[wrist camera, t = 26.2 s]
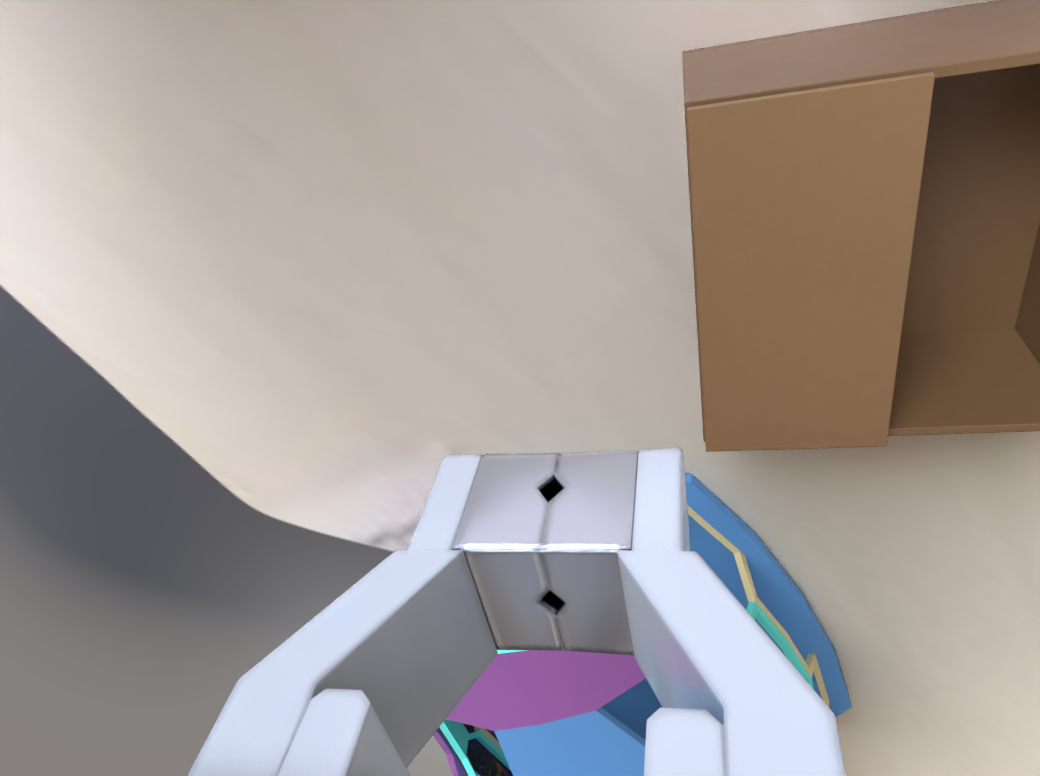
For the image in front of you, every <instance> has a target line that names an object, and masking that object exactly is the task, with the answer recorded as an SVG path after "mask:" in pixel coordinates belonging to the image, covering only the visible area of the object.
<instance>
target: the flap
mask: <svg viewBox="0 0 1040 776" xmlns="http://www.w3.org/2000/svg"><path fill="white" fill-rule="evenodd" d="M934 80H935V74H934V73H933V72H929V73H922V74H915V75H908V76H901V77H894V78H887V79H880V80H874V81H867V82H860V83H853V84H846V85H839V86H832V87H825V88H818V89H811V90H804V91H797V92H790V93H783V94H776V95H769V96H762V97H756V98H749V99H742V100H735V101H728V102H721V103H714V104H707V105H700V106H693V107H688V108H687V120H688V138H689V156H690V173H691V191H692V209H693V227H694V245H695V263H696V281H697V299H698V317H699V335H700V353H701V371H702V389H703V407H704V425H705V443H706V451H707V452H708V451H742V450H776V449H809V448H843V447H877V446H887V438H888V431H889V423H890V415H891V408H892V400H893V393H894V385H895V377H896V370H897V362H898V355H899V347H900V339H901V332H902V324H903V316H904V309H905V301H906V294H907V286H908V278H909V271H910V263H911V256H912V248H913V240H914V233H915V225H916V217H917V210H918V202H919V195H920V187H921V179H922V172H923V164H924V156H925V149H926V141H927V134H928V126H929V118H930V111H931V103H932V96H933V88H934Z"/></svg>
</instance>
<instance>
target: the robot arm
mask: <svg viewBox="0 0 1040 776" xmlns="http://www.w3.org/2000/svg"><path fill="white" fill-rule="evenodd" d="M497 650H549V651H577V652H592V653H607V654H622V655H635V660H636V661H637V663H638V665H639V667H640V669H641V670H642V672H643V674H644V676H645V677H646V679H647V681H648V683H649V685H650V686H651V688H652V690H653V692H654V694H655V695H656V697H657V699H658V701H659V702H660V704H661V706H662V708H659V709H658V710H657V711H656V712H655V713H654V714H653V715H651V716H650V717H649V718H648V719H647V724H646V743H645V763H644V776H846V775H845V769H844V764H843V758H842V753H841V747H840V742H839V736H838V730H837V725H836V719H835V714H834V713H833V712H832V711H831V710H830V708H829V707H828V706H827V705H826V704H825V702H824V701H823V700H822V699H821V698H820V697H819V695H818V694H817V693H816V692H815V691H814V689H813V688H812V687H811V686H810V685H809V684H808V682H807V681H806V680H805V679H804V678H803V676H802V675H801V674H800V673H799V672H798V671H797V669H796V668H795V667H794V666H793V665H792V663H791V662H790V661H789V660H788V659H787V658H786V656H785V655H784V654H783V653H782V652H781V650H780V649H779V648H778V647H777V646H776V645H775V643H774V642H773V641H772V640H771V639H770V637H769V636H768V635H767V634H766V633H765V632H764V630H763V629H762V628H761V627H760V626H759V624H758V623H757V622H756V621H755V620H754V619H753V617H752V616H751V615H750V614H749V613H748V611H747V610H746V609H745V608H744V607H743V606H742V604H741V603H740V602H739V601H738V600H737V598H736V597H735V596H734V595H733V594H732V593H731V591H730V590H729V589H728V588H727V587H726V585H725V584H724V583H723V582H722V581H721V580H720V578H719V577H718V576H717V575H716V574H715V572H714V571H713V570H712V569H711V568H710V567H709V565H708V564H707V563H706V562H705V561H704V559H703V558H702V557H701V556H700V555H699V554H698V552H697V551H690V539H689V524H688V510H687V497H686V484H685V471H684V458H683V451H682V449H681V448H664V449H644V450H639V451H611V452H584V453H561V454H560V453H540V454H485V455H448V456H447V457H446V458H445V459H444V460H443V461H442V462H441V464H440V466H439V469H438V471H437V474H436V477H435V479H434V482H433V485H432V487H431V490H430V492H429V495H428V498H427V500H426V503H425V505H424V508H423V511H422V513H421V516H420V518H419V521H418V524H417V526H416V529H415V531H414V534H413V537H412V539H411V542H410V544H409V547H408V550H396V551H395V552H393V553H392V554H391V555H390V556H388V557H387V558H386V559H385V560H384V561H382V562H381V563H380V564H379V565H377V566H376V567H375V568H374V569H373V570H371V571H370V572H369V573H368V574H366V575H365V576H364V577H363V578H362V579H360V580H359V581H358V582H357V583H355V584H354V585H353V586H352V587H351V588H349V589H348V590H347V591H346V592H344V593H343V594H342V595H341V596H340V597H338V598H337V599H336V600H335V601H333V602H332V603H331V604H330V605H329V606H327V607H326V608H325V609H324V610H322V611H321V612H320V613H319V614H318V615H317V616H315V617H314V618H313V619H311V620H310V621H309V622H308V623H307V624H305V625H304V626H303V627H302V628H300V629H299V630H298V631H297V632H296V633H294V634H293V635H292V636H291V637H290V638H288V639H287V640H286V641H285V642H283V643H282V644H281V645H280V646H279V647H277V648H276V649H275V650H274V651H272V652H271V653H270V654H269V655H268V656H266V657H265V658H264V659H263V660H261V661H260V662H259V663H258V664H257V665H255V666H254V667H253V668H252V669H251V670H249V671H248V672H247V673H246V674H244V675H243V676H242V677H241V678H240V679H238V681H237V683H236V685H235V687H234V688H233V691H232V692H231V694H230V696H229V698H228V700H227V702H226V704H225V706H224V707H223V709H222V711H221V713H220V715H219V717H218V719H217V721H216V723H215V725H214V727H213V729H212V731H211V732H210V734H209V736H208V738H207V740H206V742H205V744H204V746H203V747H202V749H201V751H200V753H199V755H198V757H197V759H196V761H195V763H194V764H193V766H192V768H191V770H190V772H189V774H188V776H410V775H409V773H408V771H407V769H406V768H407V767H408V765H409V764H410V763H411V761H412V760H413V759H414V758H415V757H416V755H417V754H418V753H419V752H420V750H421V749H422V748H423V747H424V745H425V744H426V743H427V742H428V740H429V739H430V738H431V737H432V736H433V734H434V733H435V732H436V731H437V729H438V728H439V727H440V726H441V724H442V723H443V722H444V721H445V719H446V718H447V717H448V716H449V714H450V713H451V712H452V711H453V709H454V708H455V707H456V706H457V705H458V703H459V702H460V701H461V700H462V698H463V697H464V696H465V695H466V693H467V692H468V691H469V690H470V688H471V687H472V686H473V685H474V683H475V682H476V681H477V680H478V678H479V677H480V676H481V675H482V673H483V672H484V671H485V670H486V669H487V667H488V666H489V665H490V664H491V662H492V661H493V660H494V659H495V657H496V656H497V655H498V652H497Z"/></svg>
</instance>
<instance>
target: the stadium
mask: <svg viewBox="0 0 1040 776" xmlns="http://www.w3.org/2000/svg"><path fill="white" fill-rule="evenodd" d="M685 484H686V497H687V510H688V524H689V539H690V551H697V552H698V554H699V555H700V556H701V557H702V558H703V559H704V561H705V562H706V563H707V564H708V565H709V567H710V568H711V569H712V570H713V571H714V572H715V574H716V575H717V576H718V577H719V578H720V580H721V581H722V582H723V583H724V584H725V585H726V587H727V588H728V589H729V590H730V591H731V593H732V594H733V595H734V596H735V597H736V598H737V600H738V601H739V602H740V603H741V604H742V606H743V607H744V608H745V609H746V610H747V611H748V613H749V614H750V615H751V616H752V617H753V619H754V620H755V621H756V622H757V623H758V624H759V626H760V627H761V628H762V629H763V630H764V632H765V633H766V634H767V635H768V636H769V637H770V639H771V640H772V641H773V642H774V643H775V645H776V646H777V647H778V648H779V649H780V650H781V652H782V653H783V654H784V655H785V656H786V658H787V659H788V660H789V661H790V662H791V663H792V665H793V666H794V667H795V668H796V669H797V671H798V672H799V673H800V674H801V675H802V676H803V678H804V679H805V680H806V681H807V682H808V684H809V685H810V686H811V687H812V688H813V689H814V691H815V692H816V693H817V694H818V695H819V697H820V698H821V699H822V700H823V701H824V702H825V704H826V705H827V706H828V707H829V708H830V710H831V711H832V712H833V713H834V714H835V717H836V716H837V715H839V714H841V713H842V712H844V711H846V710H847V709H849V708H851V703H850V698H849V695H848V692H847V688H846V685H845V682H844V678H843V675H842V672H841V669H840V665H839V662H838V659H837V655H836V652H835V649H834V647H833V645H832V643H831V642H830V640H829V638H828V637H827V635H826V633H825V631H824V630H823V628H822V626H821V624H820V623H819V621H818V619H817V618H816V616H815V614H814V612H813V611H812V609H811V607H810V606H809V604H808V602H807V600H806V599H805V597H804V595H803V594H802V592H801V591H800V589H799V588H798V587H797V585H796V584H795V583H794V582H793V580H792V579H791V578H790V577H789V575H788V574H787V573H786V571H785V570H784V569H783V568H782V566H781V565H780V564H779V563H778V561H777V560H776V559H775V557H774V556H773V555H772V554H771V552H770V551H769V550H768V549H767V547H766V546H765V545H764V543H763V542H762V541H761V540H760V538H759V537H758V536H757V534H756V533H755V532H754V531H753V530H752V529H751V528H750V527H749V526H748V525H746V524H745V523H744V522H743V521H742V520H741V519H740V518H739V517H738V516H737V515H736V514H734V513H733V512H732V511H731V510H730V509H729V508H728V507H727V506H726V505H725V504H724V503H722V502H721V501H720V500H719V499H718V498H717V497H716V496H715V495H714V494H713V493H712V492H710V491H709V490H708V489H707V488H706V487H705V486H704V485H703V484H702V483H701V482H700V481H699V480H697V479H696V478H695V477H694V476H693V475H692V474H685ZM497 652H498V655H497V656H496V657H495V659H494V660H493V661H492V662H491V664H490V665H489V666H488V667H487V669H486V670H485V671H484V672H483V673H482V675H481V676H480V677H479V678H478V680H477V681H476V682H475V683H474V685H473V686H472V687H471V688H470V690H469V691H468V692H467V693H466V695H465V696H464V697H463V698H462V700H461V701H460V702H459V703H458V705H457V706H456V707H455V708H454V709H453V711H452V712H451V713H450V714H449V716H448V717H447V718H446V719H445V721H444V722H443V723H442V724H441V726H440V727H439V728H438V729H437V731H436V732H435V733H434V734H433V736H434V737H435V738H436V740H437V741H438V743H439V744H440V746H441V747H442V749H443V750H444V751H445V753H446V755H447V758H448V761H449V764H450V767H451V770H452V773H453V775H454V776H644V763H645V743H646V724H647V719H648V718H649V717H650V716H651V715H653V714H654V713H655V712H656V711H657V710H658V709H659V708H662V706H661V704H660V702H659V701H658V699H657V697H656V695H655V694H654V692H653V690H652V688H651V686H650V685H649V683H648V681H647V679H646V677H645V676H644V674H643V672H642V670H641V669H640V667H639V665H638V663H637V661H636V660H635V655H622V654H607V653H592V652H577V651H549V650H497Z"/></svg>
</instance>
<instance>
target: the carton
mask: <svg viewBox="0 0 1040 776" xmlns="http://www.w3.org/2000/svg"><path fill="white" fill-rule="evenodd" d="M929 72H933V73H934V74H935V80H934V88H933V96H932V103H931V111H930V118H929V126H928V134H927V141H926V149H925V156H924V164H923V172H922V179H921V187H920V195H919V202H918V210H917V217H916V225H915V233H914V240H913V248H912V256H911V263H910V271H909V278H908V286H907V294H906V301H905V309H904V316H903V324H902V332H901V339H900V347H899V355H898V362H897V370H896V377H895V385H894V393H893V400H892V408H891V415H890V423H889V431H888V436H902V435H932V434H963V433H994V432H1024V431H1040V0H996V1H989V2H983V3H977V4H971V5H965V6H959V7H953V8H946V9H940V10H934V11H928V12H922V13H916V14H910V15H903V16H897V17H891V18H885V19H879V20H873V21H867V22H860V23H854V24H848V25H842V26H836V27H830V28H824V29H817V30H811V31H805V32H799V33H793V34H787V35H781V36H774V37H768V38H762V39H756V40H750V41H744V42H738V43H731V44H725V45H719V46H713V47H707V48H701V49H695V50H688V51H683V80H684V106H685V124H686V141H687V159H688V176H689V193H690V211H691V228H692V246H693V263H694V281H695V298H696V316H697V333H698V350H699V368H700V385H701V403H702V420H703V438H704V442H705V425H704V407H703V389H702V371H701V353H700V335H699V317H698V299H697V281H696V263H695V245H694V227H693V209H692V191H691V173H690V156H689V138H688V120H687V108H688V107H693V106H700V105H707V104H714V103H721V102H728V101H735V100H742V99H749V98H756V97H762V96H769V95H776V94H783V93H790V92H797V91H804V90H811V89H818V88H825V87H832V86H839V85H846V84H853V83H860V82H867V81H874V80H880V79H887V78H894V77H901V76H908V75H915V74H922V73H929Z"/></svg>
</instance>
